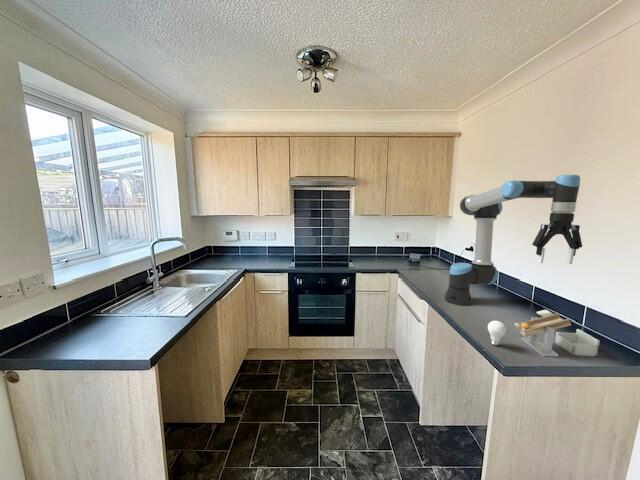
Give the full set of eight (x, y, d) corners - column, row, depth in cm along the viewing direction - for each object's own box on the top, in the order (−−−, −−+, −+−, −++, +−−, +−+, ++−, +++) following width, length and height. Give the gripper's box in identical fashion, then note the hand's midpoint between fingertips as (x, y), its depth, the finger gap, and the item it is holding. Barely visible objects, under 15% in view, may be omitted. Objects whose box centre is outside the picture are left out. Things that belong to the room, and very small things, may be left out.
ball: (519, 329, 114) (517, 322, 114) (527, 326, 114) (525, 320, 114) (524, 333, 111) (522, 326, 111) (532, 330, 111) (530, 324, 110)
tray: (554, 342, 117) (556, 327, 116) (575, 343, 117) (578, 329, 115) (572, 355, 108) (575, 339, 107) (596, 356, 107) (599, 340, 106)
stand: (521, 338, 120) (524, 315, 118) (535, 339, 120) (538, 316, 118) (542, 355, 107) (546, 329, 105) (558, 356, 107) (562, 330, 105)
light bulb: (485, 345, 114) (488, 322, 112) (485, 339, 120) (488, 316, 118) (503, 350, 111) (507, 326, 109) (503, 343, 116) (506, 320, 114)
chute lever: (506, 323, 123) (504, 315, 123) (546, 312, 121) (544, 304, 121) (526, 339, 110) (524, 330, 109) (571, 327, 108) (569, 318, 107)
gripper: (539, 212, 108) (531, 264, 112) (601, 213, 106) (591, 265, 110) (526, 211, 115) (519, 259, 119) (584, 212, 113) (575, 261, 117)
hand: (553, 262), depth 114 cm, fingers open, 11 cm apart
